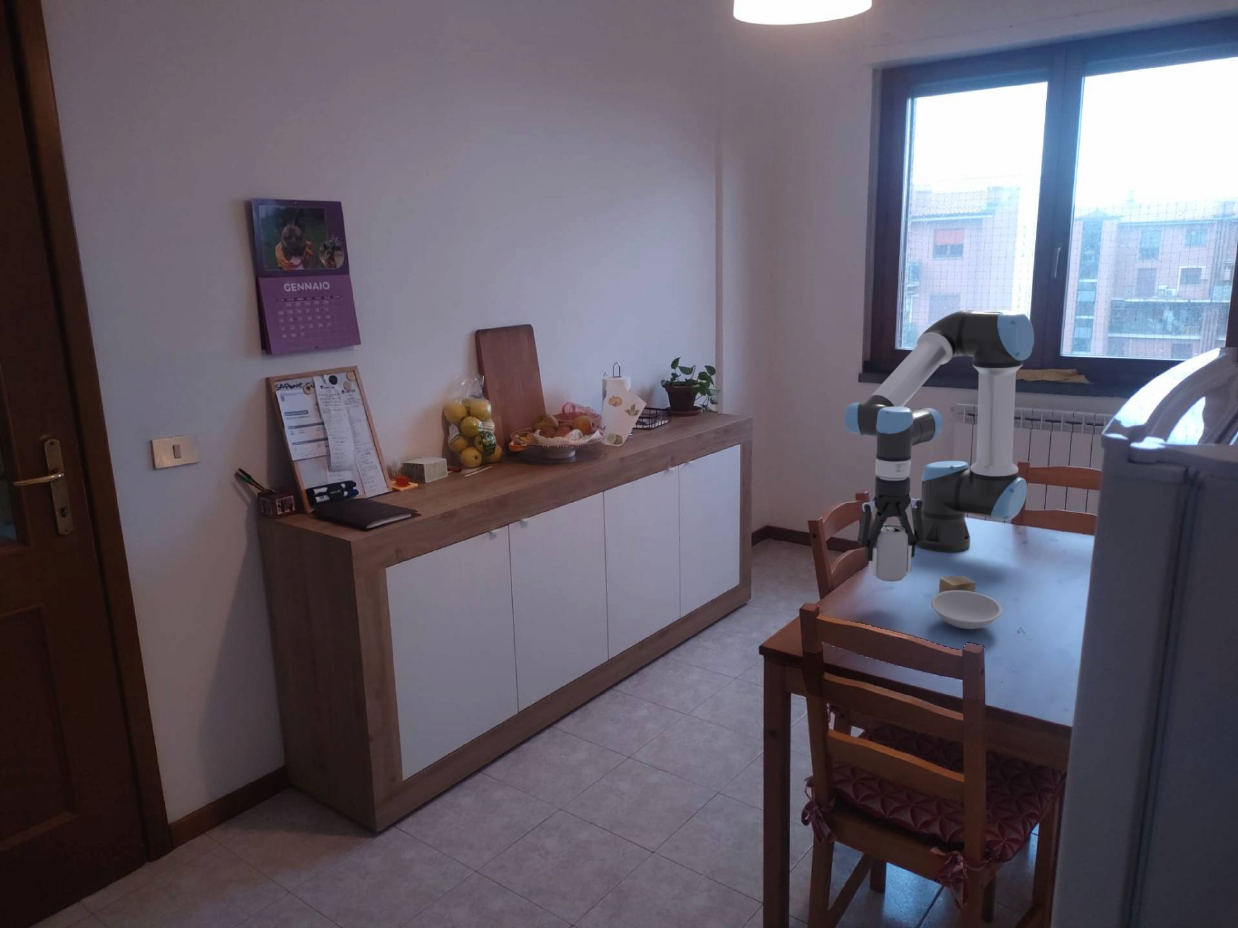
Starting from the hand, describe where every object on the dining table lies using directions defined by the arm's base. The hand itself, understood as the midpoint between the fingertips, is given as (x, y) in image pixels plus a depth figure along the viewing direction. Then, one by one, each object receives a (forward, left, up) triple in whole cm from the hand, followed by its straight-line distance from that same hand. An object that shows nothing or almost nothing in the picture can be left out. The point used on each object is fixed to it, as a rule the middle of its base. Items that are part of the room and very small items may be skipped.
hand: (889, 571), depth 198 cm
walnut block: (-18, -2, -8) cm, 19 cm away
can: (0, 0, -1) cm, 1 cm away
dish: (-11, +15, -8) cm, 20 cm away
